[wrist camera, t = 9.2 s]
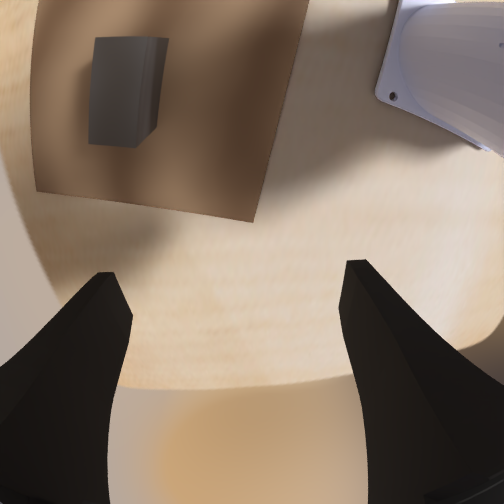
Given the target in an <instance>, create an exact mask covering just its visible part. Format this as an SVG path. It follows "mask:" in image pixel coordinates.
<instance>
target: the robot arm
mask: <svg viewBox="0 0 504 504" xmlns="http://www.w3.org/2000/svg"><path fill="white" fill-rule="evenodd" d="M392 92H394V94H395V97H394V99H392V100H390V98H389V95H390V93H392ZM375 96H376V97H377V99H379V100H380V101H382V102H385V103H387V104H390V105H393V106H395V107H398V108H400V109H402V110H405V111H407V112H410V113H412V114H414V115H417V116H419V117H421V118H423V119H425V120H428V121H430V122H432V123H434V124H436V125H438V126H440V127H442V128H444V129H446V130H448V131H450V132H452V133H454V134H456V135H458V136H460V137H462V138H464V139H466V140H468V141H469V142H471V143H473V144H475V145H477V146H478V147H480V148H482V149H484V150H485V151H488V152H489V151H491V150H492V151H494V152H495V153H497V154H498V155H500V156H501V157H503V158H504V2H456V1H454V0H399V3H398V7H397V11H396V15H395V19H394V23H393V27H392V31H391V35H390V39H389V42H388V46H387V50H386V53H385V57H384V60H383V64H382V67H381V71H380V74H379V78H378V81H377V84H376V88H375ZM339 314H340V320H341V326H342V332H343V337H344V341H345V345H346V348H347V352H348V355H349V359H350V362H351V366H352V370H353V373H354V377H355V381H356V384H357V388H358V392H359V395H360V401H361V405H362V411H363V419H364V427H365V436H366V447H367V460H368V461H367V462H368V504H504V385H502V384H501V383H499V382H498V381H496V380H495V379H493V378H492V377H490V376H489V375H487V374H486V373H485V372H483V371H482V370H481V369H479V368H478V367H477V366H475V365H474V364H473V363H471V362H470V361H469V360H468V359H466V358H465V357H464V356H463V355H461V354H460V353H459V352H458V351H457V350H456V349H454V348H453V347H452V346H451V345H450V344H449V343H447V342H446V341H445V340H444V339H443V338H442V337H441V336H440V335H438V334H437V333H436V332H435V331H434V330H433V329H432V328H431V327H430V326H429V325H428V324H427V323H426V322H425V321H424V320H423V319H422V318H421V317H420V316H419V315H418V314H417V313H416V312H415V311H414V310H413V309H412V308H411V307H410V306H409V305H408V304H407V303H406V302H405V301H404V300H403V299H402V298H401V297H400V295H399V294H398V293H397V292H396V291H395V290H394V289H393V288H392V287H391V286H390V285H389V284H388V283H387V281H386V280H385V279H384V278H383V277H382V276H381V275H380V274H379V273H378V272H377V271H376V270H375V268H374V267H373V266H372V265H371V264H370V263H369V262H368V261H367V260H366V259H365V260H349V261H347V263H346V269H345V275H344V281H343V286H342V292H341V297H340V302H339ZM132 319H133V314H132V312H131V310H130V308H129V306H128V304H127V301H126V299H125V297H124V295H123V293H122V290H121V288H120V286H119V283H118V281H117V279H116V276H115V274H114V272H100V273H97V274H96V275H95V276H93V277H92V278H91V279H90V280H89V281H88V282H87V283H86V284H85V285H84V286H83V287H82V288H81V289H80V290H79V291H78V292H77V293H76V294H75V295H74V296H73V297H72V298H71V299H70V300H69V301H68V302H67V303H66V304H65V305H64V307H63V308H62V309H61V310H60V311H59V312H58V313H57V314H56V315H55V316H54V317H53V318H52V319H51V320H50V321H49V322H48V323H47V324H46V325H45V326H44V327H43V328H42V329H41V330H40V331H39V332H38V333H37V334H36V335H35V336H34V337H33V338H32V339H31V340H30V341H29V342H28V343H27V344H26V345H25V346H24V347H23V348H22V349H21V350H20V351H19V352H17V353H16V354H15V355H14V356H13V357H12V358H11V359H10V360H9V361H7V362H6V363H5V364H3V365H2V366H1V367H0V504H110V499H109V488H108V469H107V453H108V432H109V423H110V414H111V408H112V403H113V398H114V394H115V391H116V387H117V383H118V379H119V376H120V372H121V368H122V365H123V361H124V358H125V354H126V351H127V347H128V343H129V338H130V332H131V325H132Z"/></svg>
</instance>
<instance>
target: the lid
mask: <svg viewBox="0 0 504 504" xmlns="http://www.w3.org/2000/svg"><path fill="white" fill-rule="evenodd" d="M308 4H309V0H39V4H38V10H37V16H36V22H35V30H34V38H33V48H32V60H31V79H30V123H31V142H32V155H33V165H34V174H35V182H36V190H37V192H46V193H54V194H62V195H70V196H78V197H86V198H93V199H101V200H108V201H116V202H123V203H130V204H137V205H144V206H151V207H157V208H164V209H171V210H177V211H184V212H190V213H197V214H203V215H209V216H215V217H221V218H227V219H233V220H239V221H245V222H251V223H253V221H254V217H255V213H256V209H257V205H258V201H259V197H260V193H261V189H262V185H263V181H264V177H265V173H266V169H267V165H268V161H269V157H270V153H271V149H272V145H273V141H274V137H275V133H276V129H277V125H278V121H279V117H280V113H281V109H282V105H283V101H284V97H285V93H286V89H287V86H288V82H289V78H290V74H291V70H292V66H293V62H294V58H295V54H296V50H297V46H298V42H299V39H300V35H301V31H302V27H303V23H304V19H305V15H306V12H307V8H308Z"/></svg>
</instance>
